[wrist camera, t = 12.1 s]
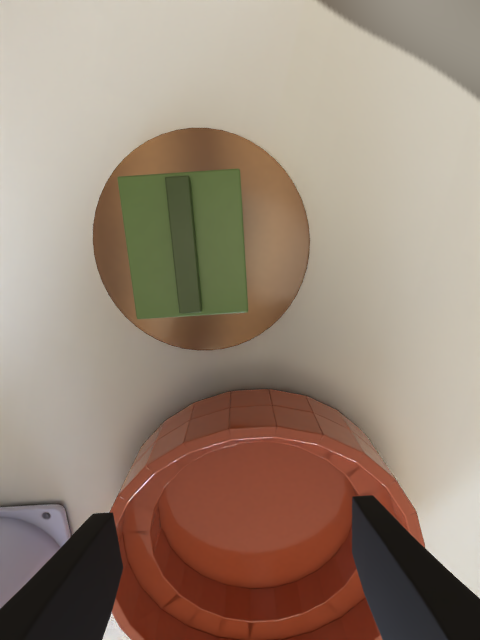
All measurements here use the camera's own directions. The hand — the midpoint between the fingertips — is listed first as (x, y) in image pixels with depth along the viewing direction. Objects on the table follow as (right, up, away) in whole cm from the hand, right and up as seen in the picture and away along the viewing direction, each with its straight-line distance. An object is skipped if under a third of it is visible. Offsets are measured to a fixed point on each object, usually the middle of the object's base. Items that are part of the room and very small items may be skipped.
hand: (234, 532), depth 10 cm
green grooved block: (-2, +10, +7) cm, 12 cm away
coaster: (-2, +10, +7) cm, 13 cm away
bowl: (+1, -5, +11) cm, 12 cm away
